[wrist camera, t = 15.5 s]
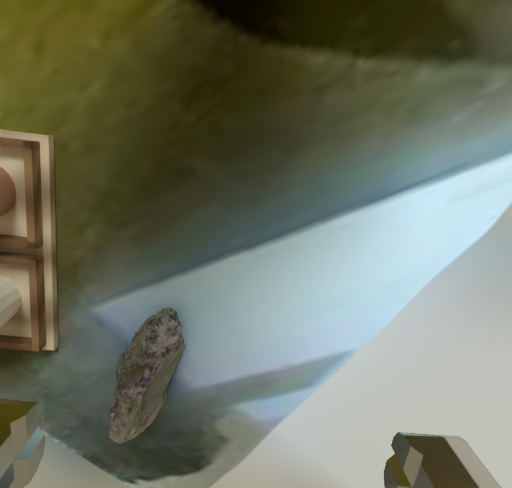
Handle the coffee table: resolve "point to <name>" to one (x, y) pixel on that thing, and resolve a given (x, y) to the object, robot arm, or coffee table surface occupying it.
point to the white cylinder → (8, 299)
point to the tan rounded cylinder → (6, 192)
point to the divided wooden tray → (30, 241)
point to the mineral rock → (145, 375)
